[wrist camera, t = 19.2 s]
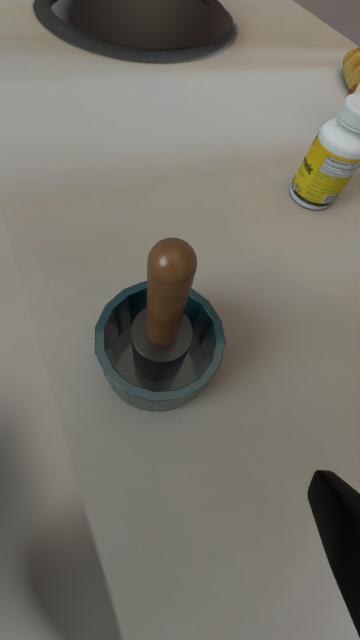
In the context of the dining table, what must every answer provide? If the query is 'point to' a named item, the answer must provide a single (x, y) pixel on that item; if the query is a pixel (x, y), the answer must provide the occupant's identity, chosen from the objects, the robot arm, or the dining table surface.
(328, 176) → the supplement bottle
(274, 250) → the dining table surface
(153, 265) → the coffee tamper
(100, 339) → the teal faceted cup
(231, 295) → the dining table surface
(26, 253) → the dining table surface
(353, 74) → the croissant
